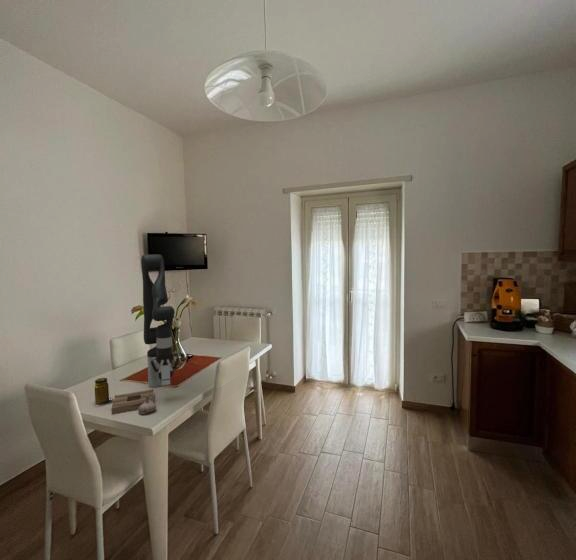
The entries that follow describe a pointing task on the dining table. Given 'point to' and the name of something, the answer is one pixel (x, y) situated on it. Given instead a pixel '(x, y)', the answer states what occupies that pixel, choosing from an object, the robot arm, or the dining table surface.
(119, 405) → the board
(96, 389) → the condiment
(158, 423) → the dining table surface
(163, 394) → the dining table surface
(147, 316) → the robot arm
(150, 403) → the garlic bulb
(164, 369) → the peg
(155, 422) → the dining table surface
